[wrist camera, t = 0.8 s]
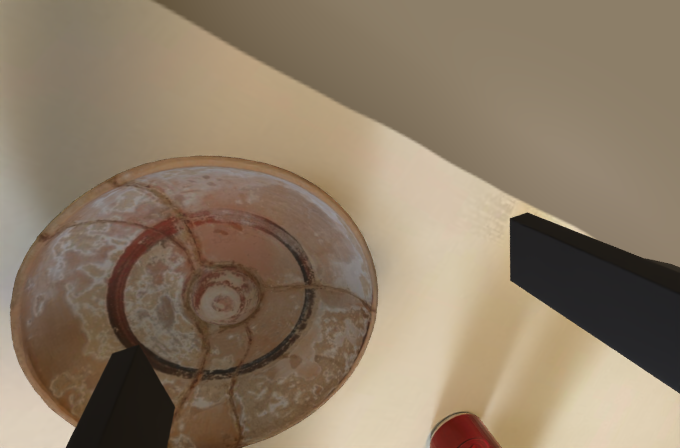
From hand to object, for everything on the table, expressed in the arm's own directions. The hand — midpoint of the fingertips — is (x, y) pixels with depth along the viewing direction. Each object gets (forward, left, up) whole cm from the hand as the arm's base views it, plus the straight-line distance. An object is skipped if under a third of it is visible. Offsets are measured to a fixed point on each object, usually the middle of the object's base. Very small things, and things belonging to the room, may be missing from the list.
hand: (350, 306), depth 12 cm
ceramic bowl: (+9, -4, -16) cm, 19 cm away
